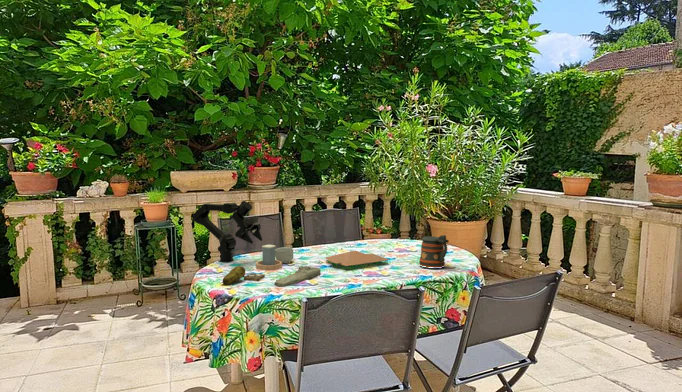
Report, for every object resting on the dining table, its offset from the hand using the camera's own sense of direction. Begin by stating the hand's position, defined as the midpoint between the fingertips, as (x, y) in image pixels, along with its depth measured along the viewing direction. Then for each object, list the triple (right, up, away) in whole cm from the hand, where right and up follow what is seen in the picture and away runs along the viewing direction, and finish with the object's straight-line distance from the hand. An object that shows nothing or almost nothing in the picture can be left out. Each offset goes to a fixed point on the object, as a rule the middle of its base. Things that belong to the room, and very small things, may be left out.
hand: (257, 241), depth 282 cm
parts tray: (+3, -17, -28) cm, 33 cm away
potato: (-6, -18, -35) cm, 39 cm away
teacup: (+14, -13, +11) cm, 22 cm away
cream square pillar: (+7, -14, -4) cm, 17 cm away
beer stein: (+101, -15, +3) cm, 102 cm away
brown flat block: (+55, -14, +9) cm, 58 cm away
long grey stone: (+26, -18, -26) cm, 41 cm away
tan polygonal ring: (+7, -14, -4) cm, 17 cm away
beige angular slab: (+2, -16, -29) cm, 33 cm away
